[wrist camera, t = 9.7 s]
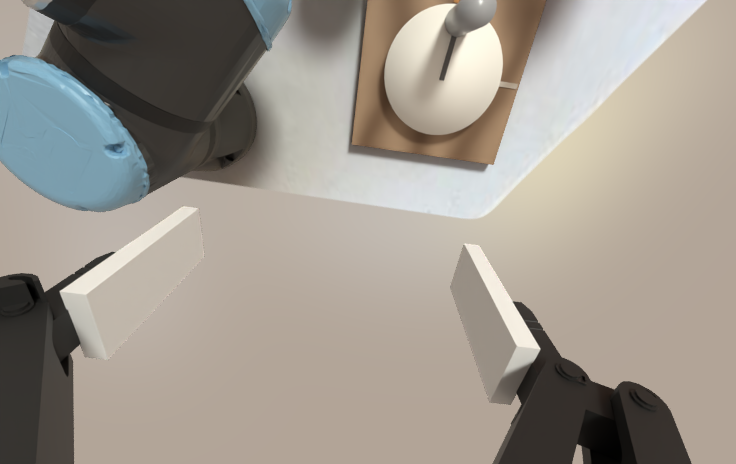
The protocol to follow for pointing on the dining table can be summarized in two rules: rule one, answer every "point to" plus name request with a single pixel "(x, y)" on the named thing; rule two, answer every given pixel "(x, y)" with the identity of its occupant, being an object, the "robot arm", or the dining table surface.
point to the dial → (444, 67)
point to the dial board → (473, 143)
